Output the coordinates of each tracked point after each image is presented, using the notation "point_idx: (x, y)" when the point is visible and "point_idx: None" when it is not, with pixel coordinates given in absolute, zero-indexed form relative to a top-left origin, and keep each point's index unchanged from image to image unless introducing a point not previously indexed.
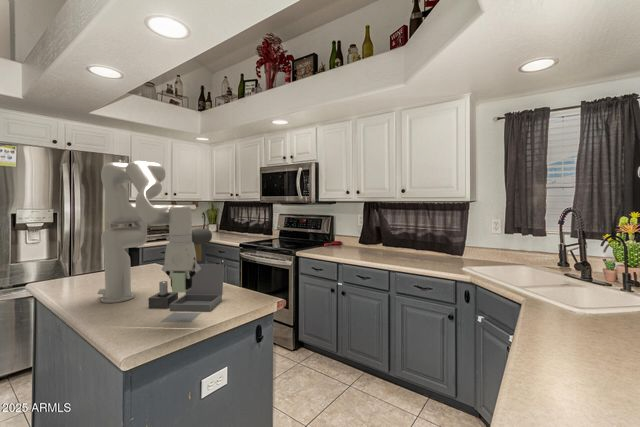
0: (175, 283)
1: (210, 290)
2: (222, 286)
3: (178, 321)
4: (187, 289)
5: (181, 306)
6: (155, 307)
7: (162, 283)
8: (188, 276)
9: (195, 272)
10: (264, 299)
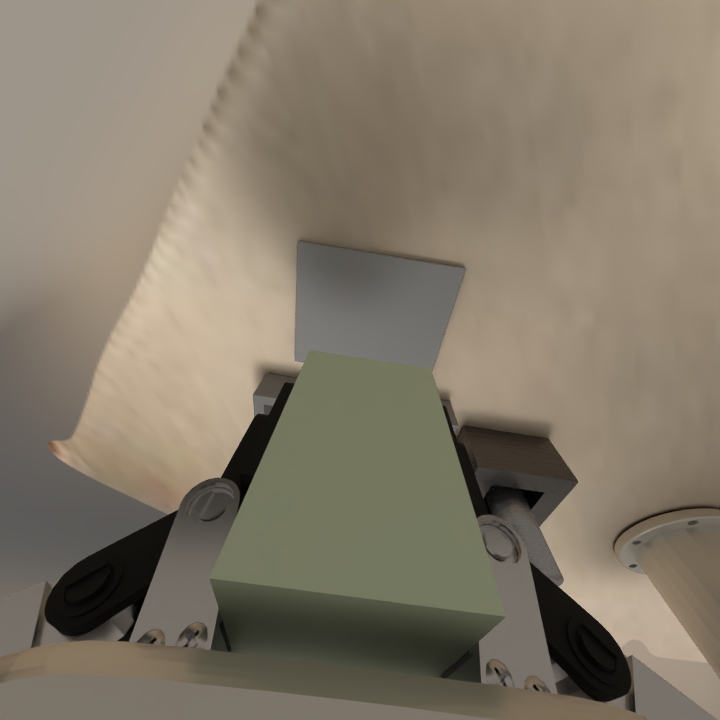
0: (402, 427)
1: None
2: None
3: (367, 260)
4: (286, 384)
5: None
6: (521, 439)
7: (542, 566)
8: (207, 516)
9: (54, 591)
10: (121, 471)
